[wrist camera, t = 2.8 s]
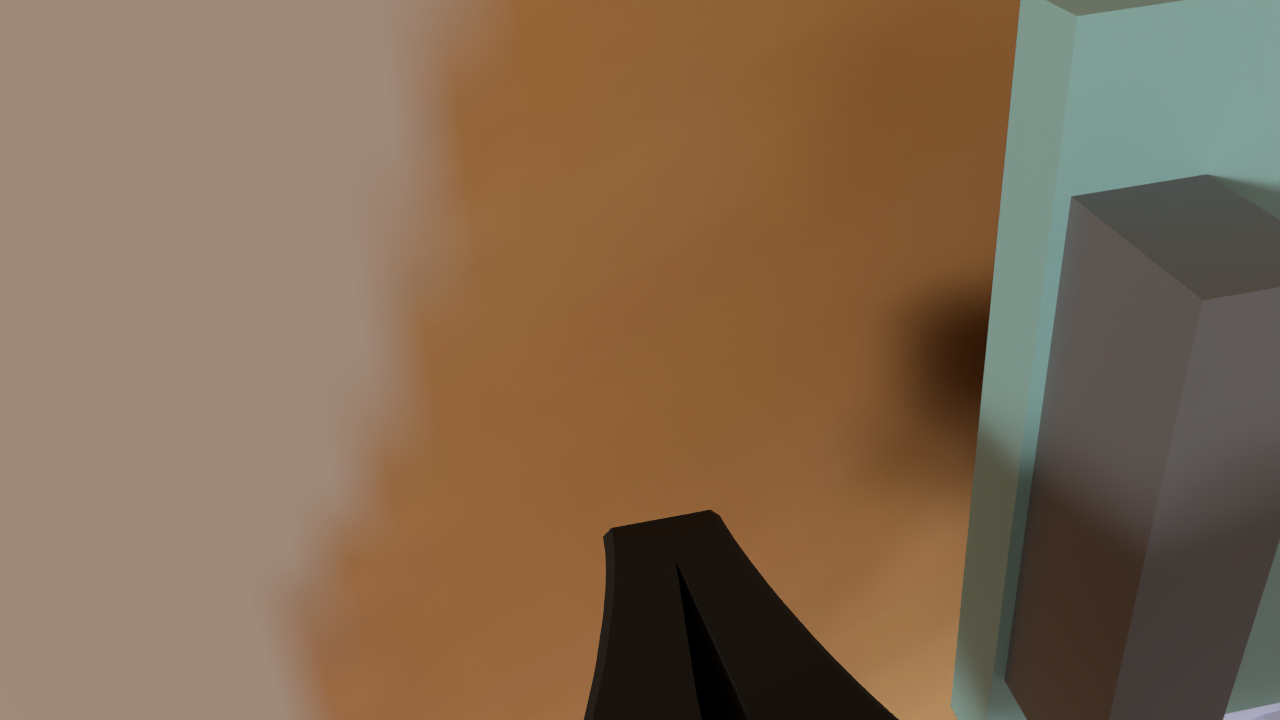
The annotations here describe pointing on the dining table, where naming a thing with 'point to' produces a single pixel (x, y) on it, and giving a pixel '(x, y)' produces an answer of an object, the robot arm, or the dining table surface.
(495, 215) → the dining table surface
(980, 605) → the lid
